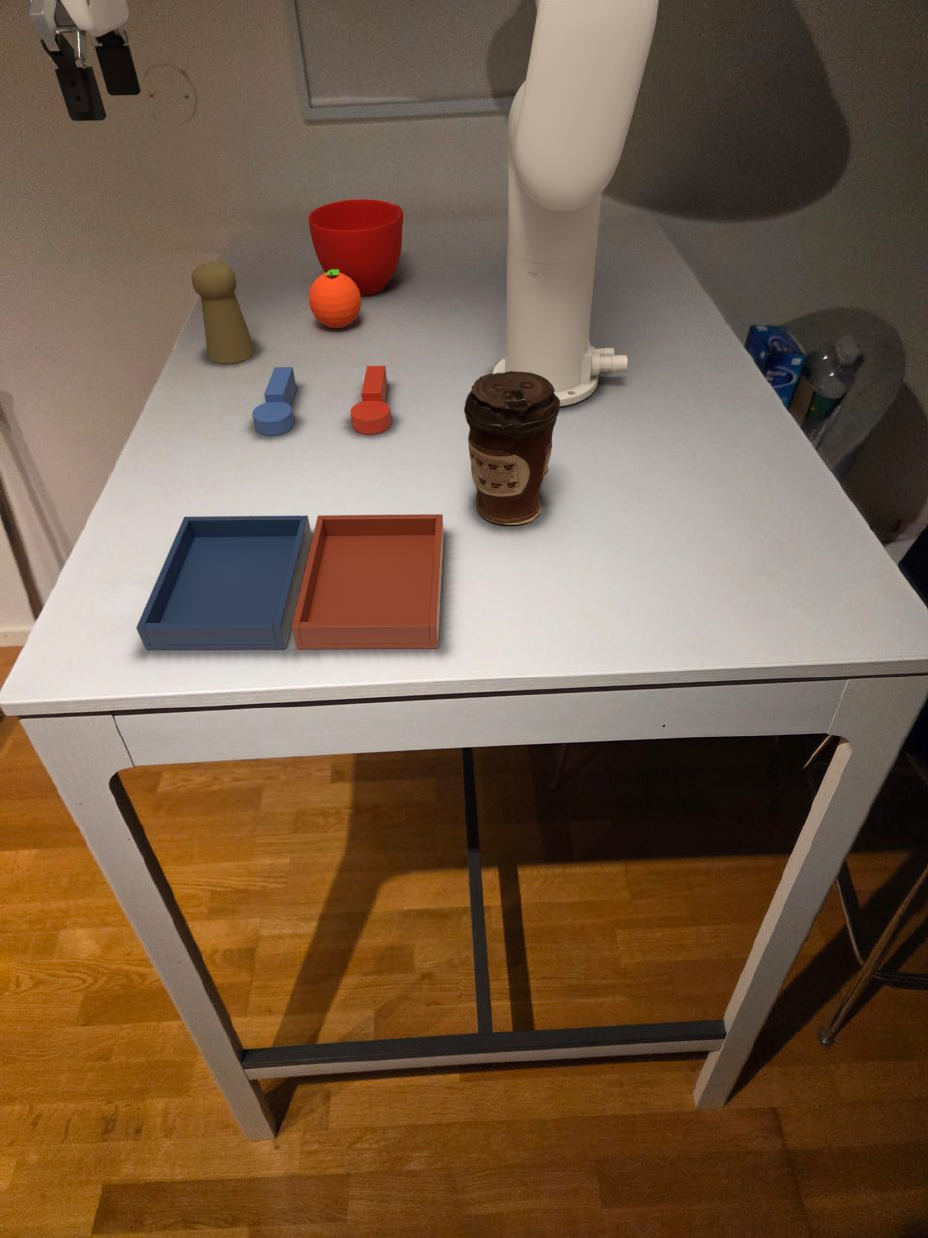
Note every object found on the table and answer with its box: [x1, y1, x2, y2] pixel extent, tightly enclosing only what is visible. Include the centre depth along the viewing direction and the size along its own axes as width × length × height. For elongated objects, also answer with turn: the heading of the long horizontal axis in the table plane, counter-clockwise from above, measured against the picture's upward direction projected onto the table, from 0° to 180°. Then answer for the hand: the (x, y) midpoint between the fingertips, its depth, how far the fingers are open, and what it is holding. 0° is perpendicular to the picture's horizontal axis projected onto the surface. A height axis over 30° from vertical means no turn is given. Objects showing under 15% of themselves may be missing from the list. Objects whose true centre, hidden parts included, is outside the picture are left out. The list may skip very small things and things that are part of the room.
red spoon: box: [350, 365, 392, 435], centre depth 91 cm, size 11×4×3 cm, turn 179°
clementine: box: [308, 269, 362, 329], centre depth 106 cm, size 8×7×7 cm
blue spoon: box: [251, 366, 298, 437], centre depth 91 cm, size 11×4×3 cm, turn 179°
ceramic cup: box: [308, 198, 404, 297], centre depth 115 cm, size 13×17×10 cm
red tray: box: [291, 513, 445, 650], centre depth 69 cm, size 12×15×3 cm
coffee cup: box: [463, 371, 561, 526], centre depth 73 cm, size 9×8×13 cm
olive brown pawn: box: [191, 261, 256, 364], centre depth 99 cm, size 6×6×11 cm
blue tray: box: [135, 515, 313, 651], centre depth 70 cm, size 12×15×3 cm
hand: (108, 106), depth 76 cm, fingers open, 9 cm apart
